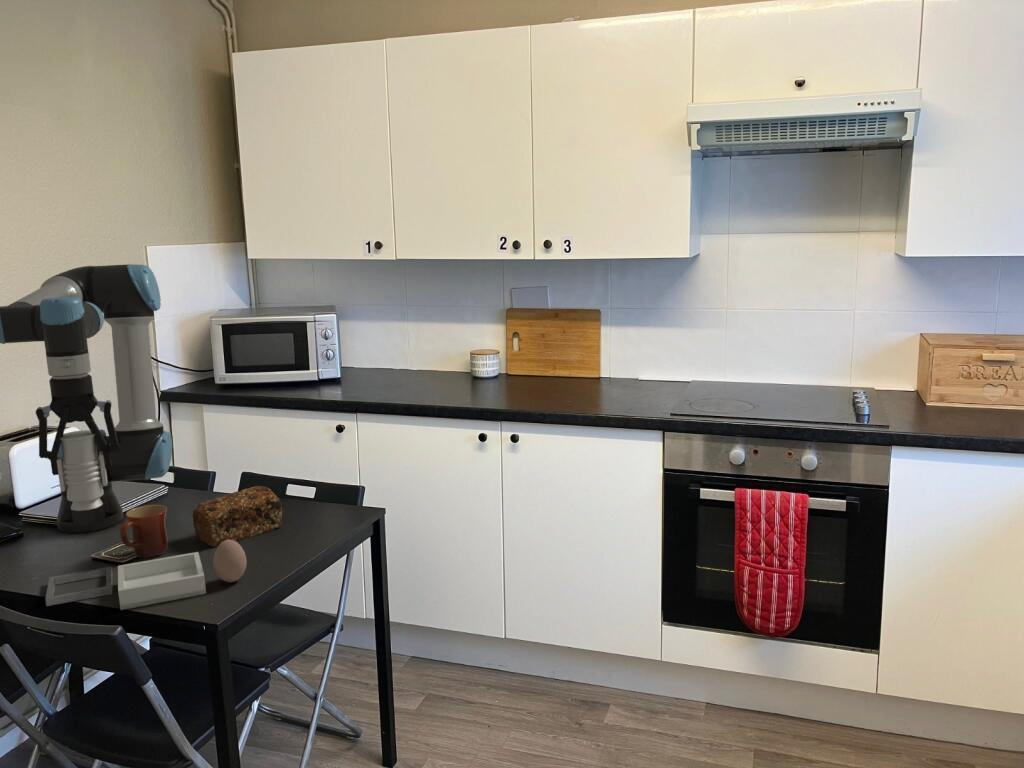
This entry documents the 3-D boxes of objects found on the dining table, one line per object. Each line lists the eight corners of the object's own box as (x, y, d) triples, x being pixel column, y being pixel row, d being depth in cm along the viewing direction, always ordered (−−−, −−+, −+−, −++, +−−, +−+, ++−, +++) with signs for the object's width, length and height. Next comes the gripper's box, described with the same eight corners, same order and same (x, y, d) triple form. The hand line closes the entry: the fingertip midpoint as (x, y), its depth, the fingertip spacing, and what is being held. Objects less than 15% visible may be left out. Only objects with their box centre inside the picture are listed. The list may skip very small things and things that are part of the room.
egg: (254, 576, 184) (250, 536, 182) (235, 589, 178) (231, 547, 176) (228, 573, 186) (224, 533, 184) (208, 585, 180) (204, 544, 178)
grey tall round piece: (70, 502, 178) (61, 432, 176) (107, 498, 180) (99, 428, 178) (64, 513, 172) (54, 440, 169) (102, 508, 174) (93, 436, 171)
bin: (120, 583, 182) (117, 565, 182) (200, 569, 189) (198, 551, 188) (120, 610, 170) (118, 591, 169) (206, 593, 176) (204, 575, 175)
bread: (264, 518, 220) (261, 481, 218) (285, 528, 212) (282, 489, 210) (193, 538, 208) (188, 498, 206) (212, 550, 200) (208, 509, 198)
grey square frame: (50, 583, 183) (49, 577, 183) (112, 573, 188) (111, 566, 188) (46, 606, 173) (45, 599, 172) (112, 594, 177) (111, 587, 177)
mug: (150, 544, 204) (145, 503, 202) (180, 548, 201) (175, 506, 199) (110, 563, 193) (105, 520, 191) (140, 568, 190) (135, 524, 188)
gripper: (10, 383, 164) (26, 499, 168) (124, 373, 171) (137, 484, 176) (15, 377, 171) (31, 488, 175) (125, 368, 178) (137, 475, 183)
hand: (84, 486), depth 175 cm, fingers closed on grey tall round piece, 7 cm apart
